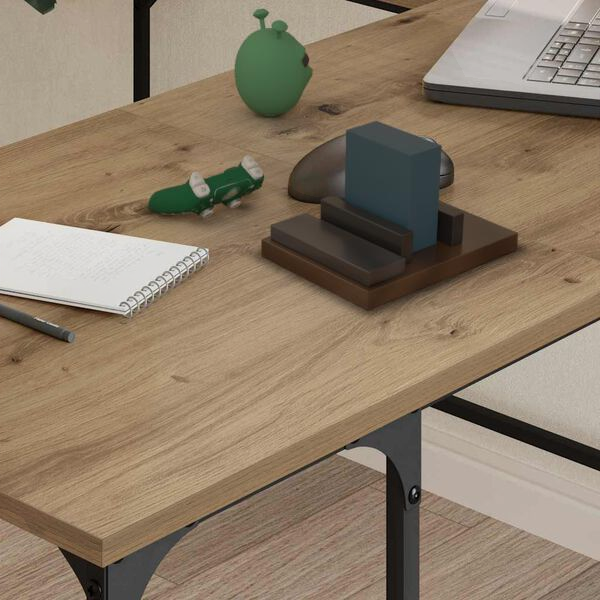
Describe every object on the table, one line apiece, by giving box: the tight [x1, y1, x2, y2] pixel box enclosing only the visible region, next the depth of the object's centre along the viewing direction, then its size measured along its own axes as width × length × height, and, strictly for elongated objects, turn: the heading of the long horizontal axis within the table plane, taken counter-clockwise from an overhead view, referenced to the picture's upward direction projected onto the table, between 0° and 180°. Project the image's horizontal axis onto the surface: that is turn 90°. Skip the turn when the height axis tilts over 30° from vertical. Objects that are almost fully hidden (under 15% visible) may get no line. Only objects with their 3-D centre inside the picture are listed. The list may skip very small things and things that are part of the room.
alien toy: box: [234, 8, 314, 117], centre depth 136 cm, size 7×8×10 cm
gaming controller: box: [147, 154, 265, 219], centre depth 116 cm, size 9×4×6 cm
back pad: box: [344, 120, 443, 253], centre depth 107 cm, size 3×7×8 cm, turn 41°
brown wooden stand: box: [260, 195, 519, 311], centre depth 109 cm, size 16×12×4 cm
